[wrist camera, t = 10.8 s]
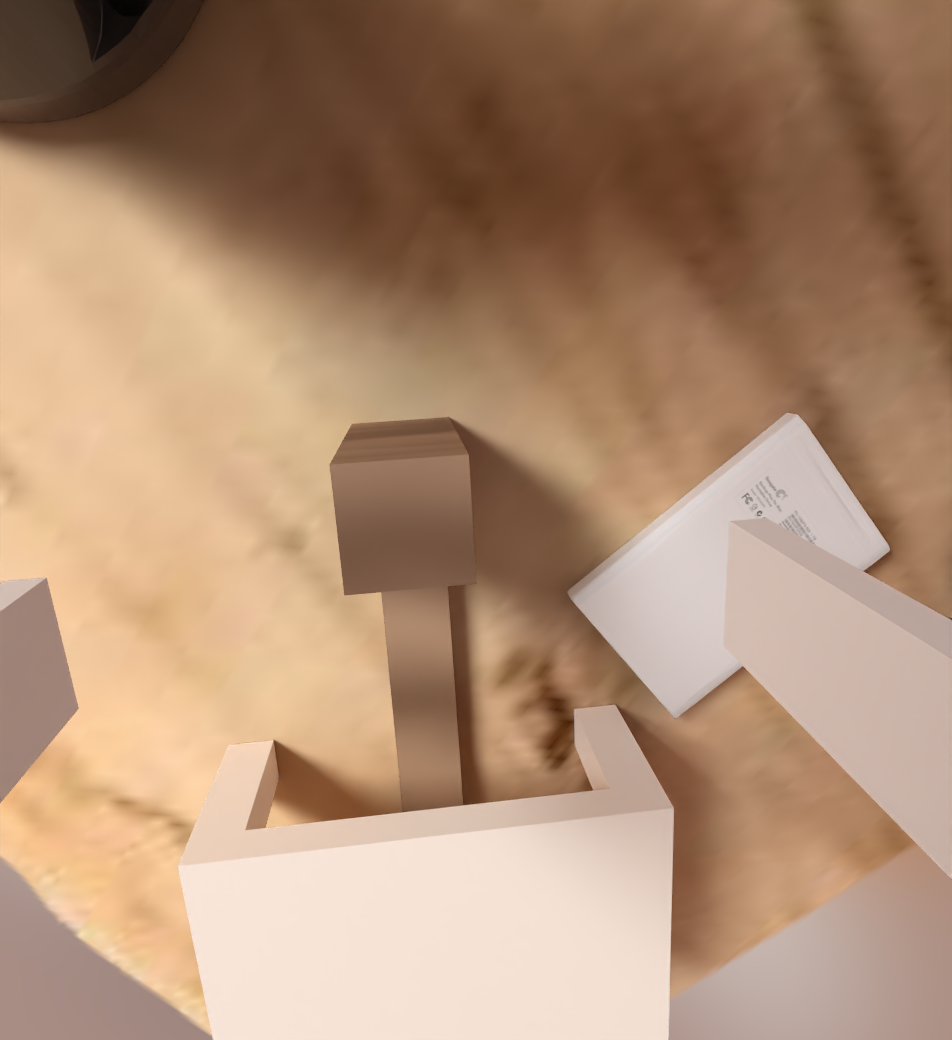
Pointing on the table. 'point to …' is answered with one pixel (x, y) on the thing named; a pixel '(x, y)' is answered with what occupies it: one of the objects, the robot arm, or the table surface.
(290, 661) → the table surface
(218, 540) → the table surface
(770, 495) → the external hard drive
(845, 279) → the table surface
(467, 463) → the walnut paddle
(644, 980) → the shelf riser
